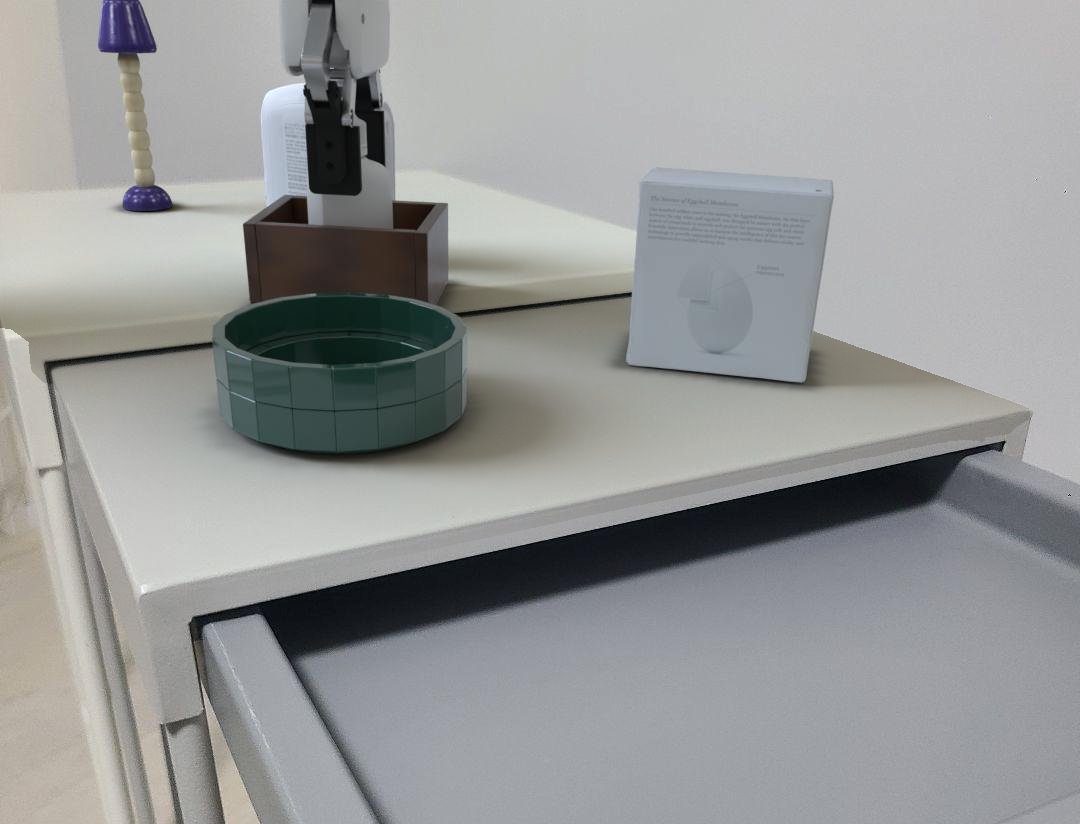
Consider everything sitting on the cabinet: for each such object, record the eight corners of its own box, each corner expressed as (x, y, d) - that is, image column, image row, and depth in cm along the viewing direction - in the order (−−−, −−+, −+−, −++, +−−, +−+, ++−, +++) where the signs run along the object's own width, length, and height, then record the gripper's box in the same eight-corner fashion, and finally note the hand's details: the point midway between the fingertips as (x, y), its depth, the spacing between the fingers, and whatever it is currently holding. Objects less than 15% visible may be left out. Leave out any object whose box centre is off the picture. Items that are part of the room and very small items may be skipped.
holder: (250, 311, 69) (242, 223, 67) (289, 274, 78) (283, 194, 75) (428, 321, 69) (427, 233, 66) (448, 282, 77) (448, 202, 75)
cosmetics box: (806, 351, 66) (835, 175, 61) (805, 385, 61) (836, 195, 56) (639, 333, 68) (654, 161, 63) (623, 365, 63) (638, 179, 58)
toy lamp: (112, 204, 96) (81, -4, 88) (161, 199, 99) (136, -3, 91) (135, 213, 93) (106, -1, 85) (185, 208, 96) (161, 0, 88)
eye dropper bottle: (310, 280, 74) (298, 93, 68) (392, 278, 75) (386, 95, 70) (313, 297, 70) (301, 102, 65) (399, 295, 72) (394, 103, 66)
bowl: (186, 453, 49) (173, 360, 47) (262, 366, 60) (254, 287, 58) (448, 468, 49) (447, 375, 47) (477, 378, 60) (478, 299, 58)
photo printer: (405, 257, 83) (402, 85, 77) (379, 269, 80) (373, 90, 74) (291, 241, 86) (280, 75, 80) (261, 252, 83) (246, 79, 77)
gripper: (308, -130, 69) (324, 158, 77) (221, -158, 54) (253, 206, 62) (423, -126, 69) (427, 164, 77) (370, -152, 53) (381, 213, 62)
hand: (349, 180), depth 70 cm, fingers open, 7 cm apart
